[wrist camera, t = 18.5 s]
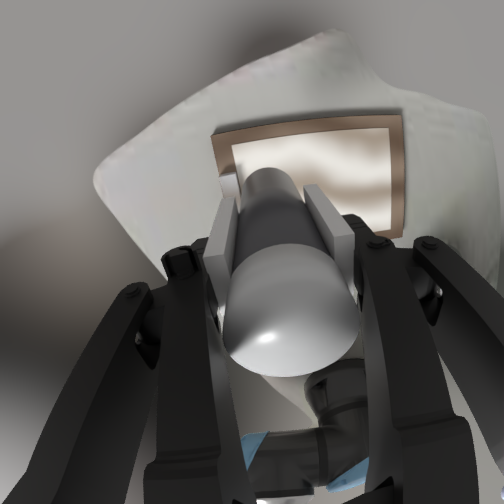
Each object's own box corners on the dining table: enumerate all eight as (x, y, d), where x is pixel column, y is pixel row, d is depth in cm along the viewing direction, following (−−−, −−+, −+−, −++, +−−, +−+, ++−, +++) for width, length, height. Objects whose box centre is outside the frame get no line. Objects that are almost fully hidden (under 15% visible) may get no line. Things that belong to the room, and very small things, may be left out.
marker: (302, 211, 21) (360, 359, 9) (249, 225, 21) (246, 384, 9) (289, 159, 19) (356, 263, 7) (233, 175, 19) (200, 300, 7)
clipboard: (399, 233, 34) (406, 241, 32) (240, 259, 36) (239, 268, 34) (397, 114, 26) (406, 116, 24) (211, 135, 28) (208, 136, 26)
